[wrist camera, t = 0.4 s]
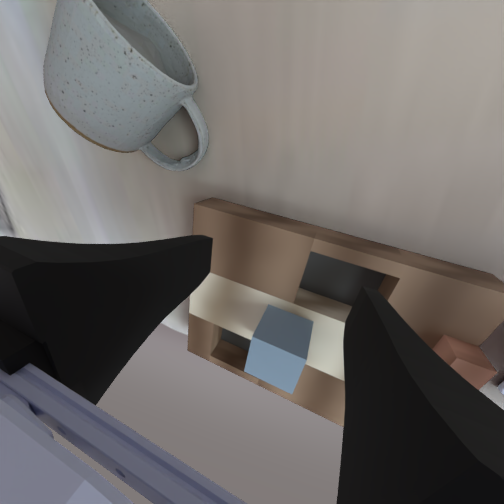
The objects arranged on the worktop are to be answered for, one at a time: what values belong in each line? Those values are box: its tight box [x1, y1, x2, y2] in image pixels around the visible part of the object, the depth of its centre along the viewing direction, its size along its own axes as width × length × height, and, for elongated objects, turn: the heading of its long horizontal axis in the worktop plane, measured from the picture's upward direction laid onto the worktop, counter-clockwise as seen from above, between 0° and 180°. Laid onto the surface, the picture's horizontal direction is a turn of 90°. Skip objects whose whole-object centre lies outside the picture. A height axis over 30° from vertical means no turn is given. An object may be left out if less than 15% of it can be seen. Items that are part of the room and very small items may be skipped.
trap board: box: [188, 198, 504, 427], centre depth 20 cm, size 22×18×5 cm
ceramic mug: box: [44, 0, 208, 171], centre depth 16 cm, size 11×8×8 cm
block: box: [244, 304, 314, 394], centre depth 18 cm, size 4×4×4 cm
